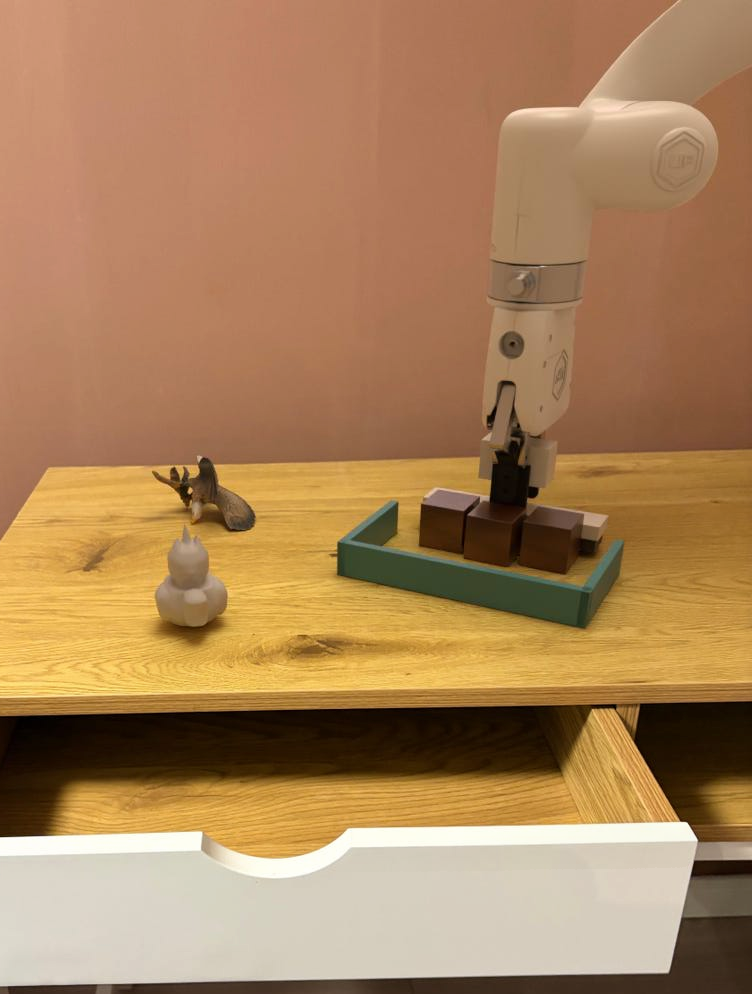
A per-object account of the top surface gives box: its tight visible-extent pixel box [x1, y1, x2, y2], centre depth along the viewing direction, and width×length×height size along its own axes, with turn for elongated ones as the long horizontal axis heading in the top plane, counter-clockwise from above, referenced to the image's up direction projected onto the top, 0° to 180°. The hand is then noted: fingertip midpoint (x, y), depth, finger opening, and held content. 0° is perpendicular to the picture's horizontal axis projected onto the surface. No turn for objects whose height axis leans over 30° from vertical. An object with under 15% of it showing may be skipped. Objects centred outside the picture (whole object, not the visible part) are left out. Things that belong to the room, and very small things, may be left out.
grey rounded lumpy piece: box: [154, 523, 229, 628], centre depth 73 cm, size 5×7×8 cm
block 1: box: [418, 490, 480, 555], centre depth 87 cm, size 4×4×4 cm
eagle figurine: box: [151, 454, 257, 531], centre depth 93 cm, size 8×7×9 cm
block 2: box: [463, 500, 527, 567], centre depth 84 cm, size 4×4×4 cm
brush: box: [422, 431, 609, 554], centre depth 86 cm, size 16×3×8 cm, turn 59°
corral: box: [336, 500, 626, 629], centre depth 81 cm, size 21×11×3 cm, turn 60°
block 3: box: [518, 506, 584, 575], centre depth 82 cm, size 4×4×4 cm
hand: (513, 499), depth 86 cm, fingers closed on brush, 2 cm apart
